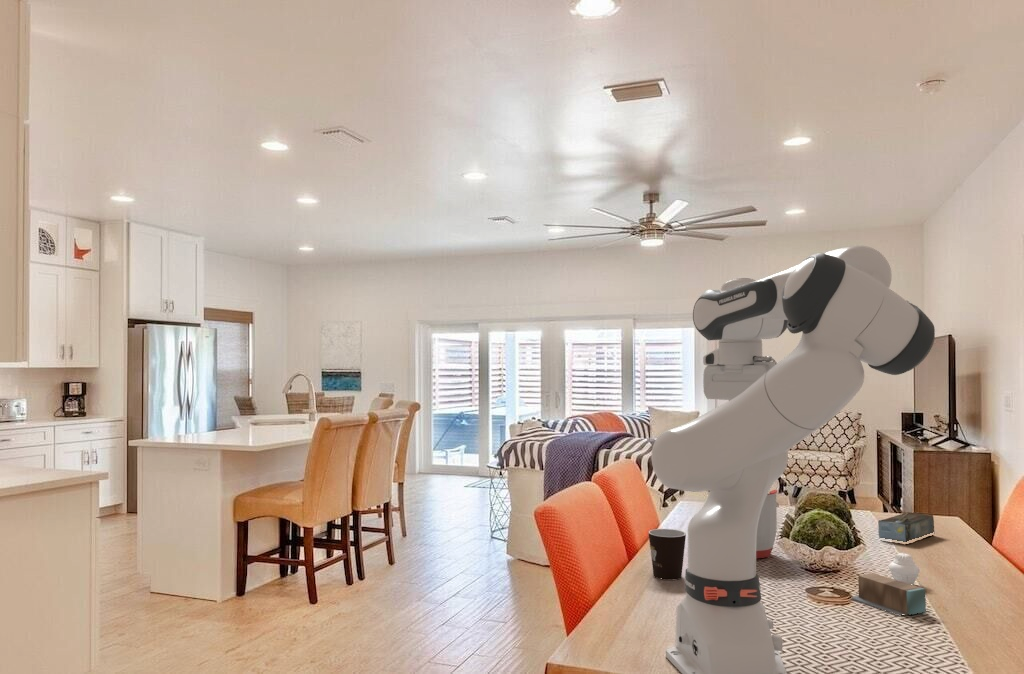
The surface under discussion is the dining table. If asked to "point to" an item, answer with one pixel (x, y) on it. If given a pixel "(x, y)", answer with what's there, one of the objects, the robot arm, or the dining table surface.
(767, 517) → the citrus juicer
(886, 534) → the beverage carton
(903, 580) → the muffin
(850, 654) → the dining table surface
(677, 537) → the coffee mug
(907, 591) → the walnut block
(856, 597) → the slate mat
